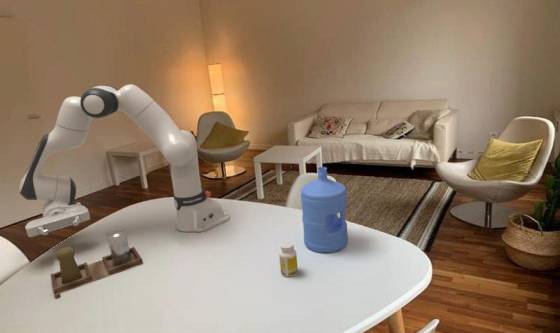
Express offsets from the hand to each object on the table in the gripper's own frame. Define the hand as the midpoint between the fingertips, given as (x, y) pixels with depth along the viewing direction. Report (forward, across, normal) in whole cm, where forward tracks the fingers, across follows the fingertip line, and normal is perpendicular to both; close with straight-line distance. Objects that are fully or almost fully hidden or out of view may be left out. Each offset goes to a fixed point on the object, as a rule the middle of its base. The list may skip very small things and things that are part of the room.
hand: (60, 228), depth 134 cm
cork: (+13, -1, +13) cm, 19 cm away
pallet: (+13, +7, +15) cm, 21 cm away
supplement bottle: (+56, +56, +16) cm, 81 cm away
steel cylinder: (+13, +15, +14) cm, 24 cm away
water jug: (+49, +77, +17) cm, 93 cm away
